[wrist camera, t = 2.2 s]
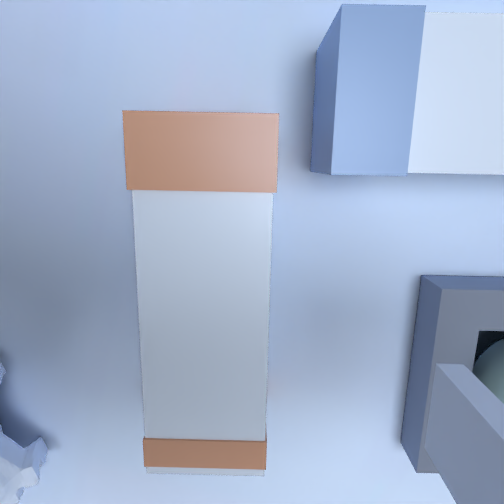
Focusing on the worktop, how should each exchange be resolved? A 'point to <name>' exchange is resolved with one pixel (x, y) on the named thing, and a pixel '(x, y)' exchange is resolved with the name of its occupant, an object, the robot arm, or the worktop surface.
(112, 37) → the worktop surface
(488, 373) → the button
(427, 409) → the button base
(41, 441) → the white turtle figurine
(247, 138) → the orange-capped white block
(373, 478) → the worktop surface
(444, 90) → the blue-capped white block
